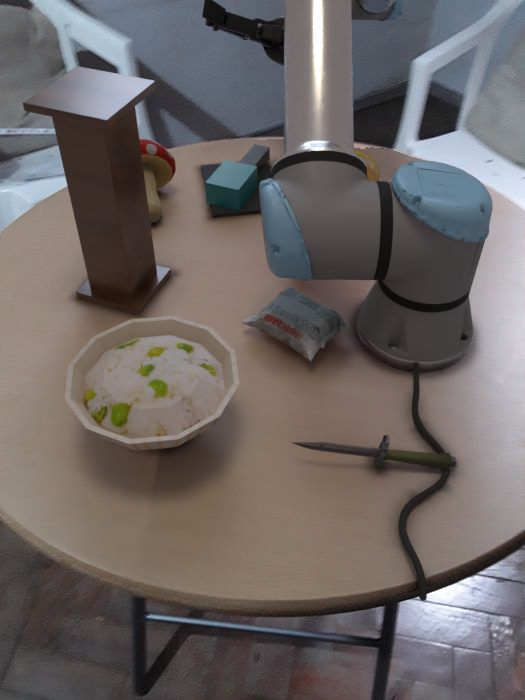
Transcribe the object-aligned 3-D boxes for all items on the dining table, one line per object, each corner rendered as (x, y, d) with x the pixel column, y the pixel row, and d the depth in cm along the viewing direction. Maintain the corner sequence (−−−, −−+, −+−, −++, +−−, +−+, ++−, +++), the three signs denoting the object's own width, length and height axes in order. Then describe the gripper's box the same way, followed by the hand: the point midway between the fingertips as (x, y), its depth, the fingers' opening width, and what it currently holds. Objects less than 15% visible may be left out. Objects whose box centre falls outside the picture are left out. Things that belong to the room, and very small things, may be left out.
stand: (139, 318, 94) (106, 120, 74) (71, 298, 97) (22, 102, 76) (176, 272, 101) (155, 80, 81) (112, 255, 104) (76, 65, 84)
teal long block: (239, 211, 112) (238, 190, 109) (206, 203, 113) (204, 182, 111) (277, 161, 123) (277, 140, 121) (247, 154, 125) (246, 134, 122)
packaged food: (310, 373, 87) (312, 346, 83) (241, 332, 92) (240, 304, 89) (349, 338, 92) (353, 311, 88) (281, 301, 97) (283, 273, 94)
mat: (284, 210, 113) (284, 207, 113) (213, 217, 112) (213, 214, 111) (266, 162, 124) (266, 159, 124) (201, 168, 123) (200, 165, 122)
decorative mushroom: (155, 189, 102) (145, 113, 108) (98, 220, 106) (92, 145, 112) (197, 221, 111) (186, 150, 117) (144, 249, 115) (135, 178, 121)
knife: (287, 461, 76) (295, 433, 72) (288, 446, 77) (295, 418, 73) (451, 480, 77) (466, 454, 73) (448, 465, 78) (463, 439, 75)
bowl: (54, 483, 75) (33, 426, 68) (106, 359, 88) (93, 301, 81) (226, 504, 73) (223, 448, 66) (253, 374, 87) (252, 316, 80)
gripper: (351, 77, 118) (321, 53, 99) (220, 55, 125) (168, 28, 105) (361, 31, 116) (332, -3, 97) (228, 11, 123) (176, -25, 103)
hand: (247, 13), depth 101 cm, fingers open, 13 cm apart
